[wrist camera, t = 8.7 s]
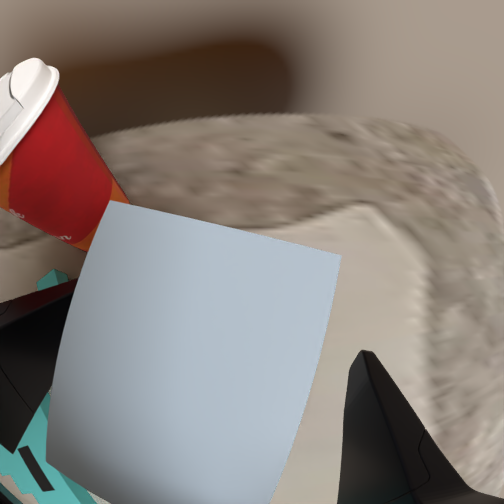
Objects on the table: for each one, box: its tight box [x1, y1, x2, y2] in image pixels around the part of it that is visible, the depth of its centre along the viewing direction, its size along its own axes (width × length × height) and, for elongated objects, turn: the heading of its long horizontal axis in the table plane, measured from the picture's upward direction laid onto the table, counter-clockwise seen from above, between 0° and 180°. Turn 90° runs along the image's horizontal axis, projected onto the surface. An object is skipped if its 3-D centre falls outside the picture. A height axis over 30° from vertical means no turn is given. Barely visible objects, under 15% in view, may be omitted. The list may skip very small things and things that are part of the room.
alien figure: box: [0, 269, 97, 504], centre depth 14 cm, size 20×2×20 cm
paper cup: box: [0, 58, 130, 252], centre depth 14 cm, size 8×8×14 cm
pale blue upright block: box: [46, 200, 341, 504], centre depth 10 cm, size 6×4×12 cm
